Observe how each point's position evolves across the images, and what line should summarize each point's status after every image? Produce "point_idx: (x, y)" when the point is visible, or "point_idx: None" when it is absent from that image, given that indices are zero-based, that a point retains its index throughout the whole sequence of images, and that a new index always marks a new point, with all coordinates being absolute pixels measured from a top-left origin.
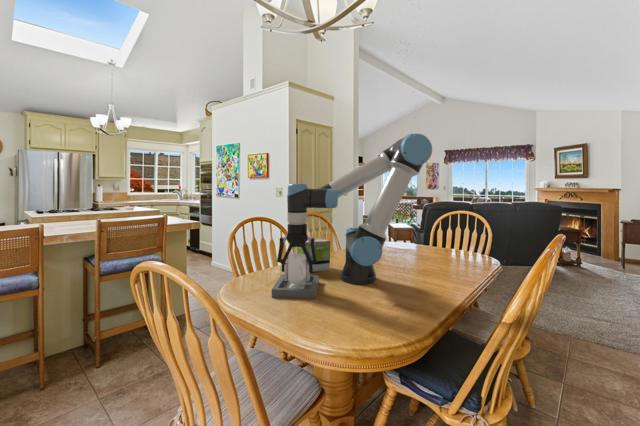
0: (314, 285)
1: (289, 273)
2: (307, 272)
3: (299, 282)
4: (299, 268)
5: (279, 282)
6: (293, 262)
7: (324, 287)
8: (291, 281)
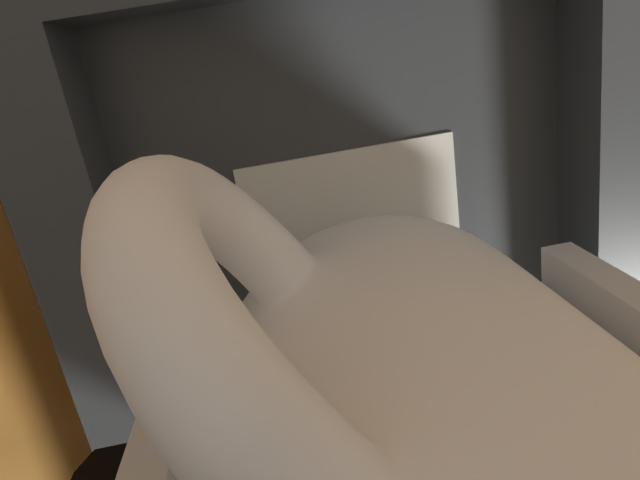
0: (41, 223)
1: (553, 293)
2: None
3: (311, 238)
4: (352, 362)
5: (625, 209)
6: (636, 438)
7: (41, 429)
8: (448, 224)
